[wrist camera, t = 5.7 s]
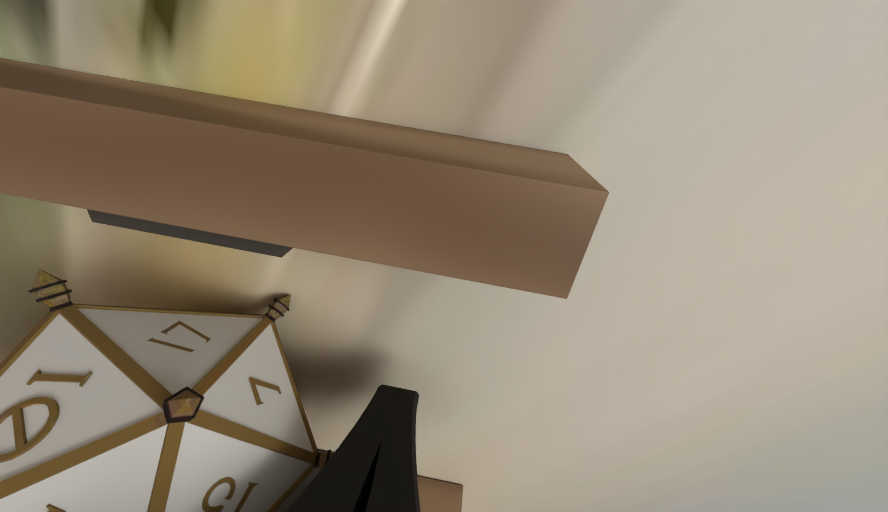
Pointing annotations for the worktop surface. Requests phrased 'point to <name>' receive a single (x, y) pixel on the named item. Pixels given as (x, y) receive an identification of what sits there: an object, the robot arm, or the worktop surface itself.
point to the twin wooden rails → (297, 185)
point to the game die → (150, 411)
